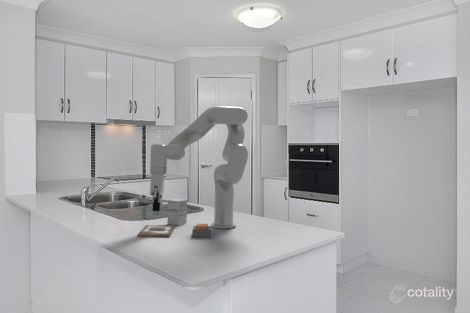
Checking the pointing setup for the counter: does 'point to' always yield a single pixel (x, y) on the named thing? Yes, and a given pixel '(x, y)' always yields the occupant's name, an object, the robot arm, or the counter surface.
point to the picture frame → (156, 231)
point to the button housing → (201, 232)
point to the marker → (160, 207)
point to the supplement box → (177, 211)
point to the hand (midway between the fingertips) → (157, 209)
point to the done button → (202, 226)
